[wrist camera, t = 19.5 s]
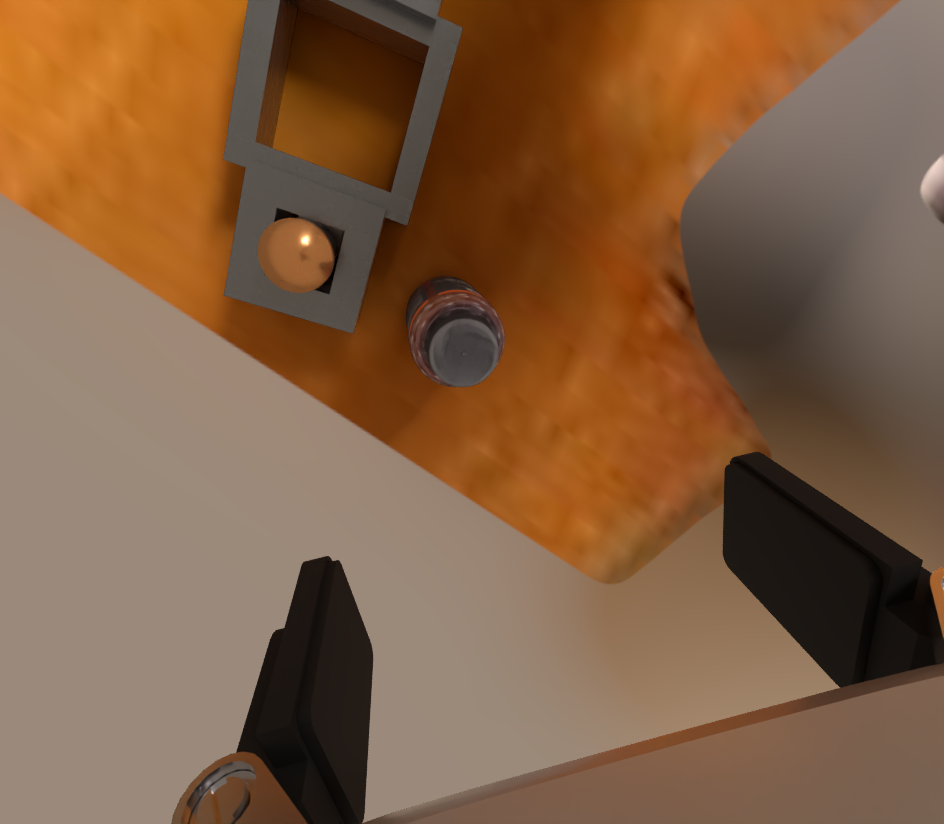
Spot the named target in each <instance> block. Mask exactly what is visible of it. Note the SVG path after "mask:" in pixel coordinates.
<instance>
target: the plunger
mask: <svg viewBox="0 0 944 824" xmlns="http://www.w3.org/2000/svg"><path fill="white" fill-rule="evenodd" d="M336 253H337V248H336V243H335V241H334V239H333V237H332V235H331V234H330V233H329V232H328V231H327V230H325V229H324V228H322V227H320V226H317V225H316V224H314V223H312V222H310V221H308V220H305V219H301V218H285V219H281V220H278V221H275V222H274V223H272V224H270V225H269V226H268V227H267V228H266V229H265V230H264V232H263V233H262V235H261V237H260V239H259V243H258V259H259V263H260V265H261V268H262V270H263V272H264V273H265V275H266V276H267V277H268V278H269V279H270V281H272V282H273V283H274V284H275V285H277V286H278V287H280V288H282V289H284V290H286V291H290V292H295V293H304V292H309V291H312V290H314V289H316V288H318V287H319V286H321V285H322V284H323V283H324V282H325V281H326V280H327V279H328V278H329V276H330V274H331V272H332V270H333V267H334V260H335V258H336Z"/></svg>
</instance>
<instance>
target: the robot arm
mask: <svg viewBox="0 0 944 824" xmlns="http://www.w3.org/2000/svg"><path fill="white" fill-rule="evenodd" d="M723 557H724V560H725V562H726V564H727V566H728V567H729V569H730V570H731V571H732V572H733V573H734V574H735V575H736V576H737V577H738V578H739V580H740V581H741V582H742V583H743V584H744V585H745V586H746V587H747V588H748V589H749V590H750V591H751V592H752V594H753V595H754V596H755V597H756V598H757V599H758V600H759V601H760V602H761V603H762V604H763V605H764V607H765V608H766V609H767V610H768V611H769V612H770V613H771V614H772V615H773V616H774V617H775V618H776V619H777V621H778V622H780V624H781V625H782V626H783V627H784V628H785V629H786V630H787V631H788V632H789V633H790V634H791V636H792V637H793V638H794V639H795V640H796V641H797V642H798V643H799V644H800V645H801V646H802V647H803V649H804V650H805V651H807V653H808V654H809V655H810V656H811V657H812V658H813V659H814V660H815V661H816V662H817V664H818V665H819V666H820V667H821V668H822V669H823V670H824V671H825V672H826V673H827V674H828V676H829V677H830V678H831V679H832V680H833V681H834V682H835V683H836V684H837V685H838V686H839V687H841V688H838V689H834V690H831V691H827V692H823V693H819V694H816V695H812V696H808V697H805V698H801V699H797V700H793V701H789V702H786V703H782V704H779V705H774V706H771V707H767V708H763V709H759V710H756V711H752V712H748V713H745V714H741V715H737V716H734V717H730V718H726V719H723V720H719V721H715V722H712V723H708V724H704V725H701V726H697V727H693V728H689V729H686V730H682V731H678V732H675V733H671V734H667V735H664V736H660V737H657V738H653V739H649V740H646V741H642V742H638V743H635V744H631V745H627V746H624V747H620V748H616V749H613V750H609V751H605V752H602V753H598V754H595V755H591V756H587V757H584V758H580V759H577V760H573V761H569V762H566V763H563V764H559V765H556V766H552V767H548V768H545V769H541V770H538V771H534V772H530V773H527V774H523V775H520V776H516V777H512V778H509V779H505V780H502V781H498V782H495V783H491V784H488V785H484V786H480V787H477V788H473V789H470V790H467V791H463V792H460V793H456V794H453V795H450V796H446V797H443V798H440V799H437V800H433V801H430V802H426V803H423V804H420V805H417V806H413V807H410V808H406V809H403V810H400V811H396V812H393V813H390V814H387V815H384V816H382V817H379V818H376V819H373V820H370V821H368V822H365V823H362V822H363V819H364V812H365V795H366V794H365V793H366V777H367V759H368V741H369V723H370V706H371V688H372V670H373V651H372V645H371V642H370V639H369V636H368V634H367V631H366V628H365V626H364V623H363V621H362V618H361V615H360V613H359V610H358V607H357V605H356V602H355V599H354V597H353V594H352V591H351V589H350V586H349V583H348V581H347V578H346V575H345V573H344V570H343V568H342V565H341V563H340V561H339V560H336V561H332V560H331V558H330V557H329V556H326V557H322V558H318V559H313V560H310V561H305V562H303V564H302V566H301V569H300V573H299V577H298V580H297V584H296V588H295V591H294V595H293V599H292V602H291V606H290V610H289V614H288V617H287V621H286V624H285V628H283V629H279V630H276V631H275V632H274V633H273V634H272V637H271V639H270V642H269V645H268V648H267V652H266V655H265V658H264V662H263V665H262V669H261V672H260V675H259V679H258V682H257V685H256V688H255V692H254V695H253V699H252V702H251V705H250V708H249V712H248V715H247V718H246V722H245V725H244V728H243V732H242V735H241V738H240V742H239V745H238V748H237V752H236V753H233V754H229V755H227V756H225V757H223V758H221V759H219V760H217V761H215V762H214V763H213V764H211V765H210V766H209V767H207V768H206V769H205V770H203V771H202V772H201V773H200V774H199V775H198V776H197V777H196V778H195V779H194V780H193V781H192V783H191V784H190V785H189V786H188V788H187V789H186V791H185V792H184V794H183V795H182V797H181V798H180V800H179V802H178V804H177V807H176V809H175V811H174V814H173V818H172V823H171V824H944V567H942V568H939V569H937V570H935V571H934V573H930V572H929V571H927V570H926V569H924V568H923V567H921V566H922V561H923V560H922V559H920V558H918V557H917V556H915V555H914V554H912V553H911V552H909V551H908V550H906V549H905V548H903V547H902V546H900V545H899V544H897V543H896V542H894V541H893V540H891V539H890V538H888V537H887V536H885V535H884V534H882V533H881V532H879V531H878V530H876V529H875V528H873V527H872V526H870V525H869V524H867V523H866V522H864V521H863V520H861V519H860V518H858V517H857V516H855V515H854V514H852V513H851V512H849V511H848V510H846V509H845V508H843V507H842V506H840V505H839V504H837V503H836V502H834V501H833V500H831V499H830V498H828V497H827V496H825V495H824V494H822V493H821V492H819V491H818V490H816V489H815V488H813V487H812V486H810V485H809V484H807V483H806V482H804V481H802V480H801V479H800V478H798V477H797V476H795V475H794V474H792V473H791V472H789V471H788V470H786V469H785V468H783V467H782V466H780V465H779V464H777V463H776V462H774V461H773V460H771V459H770V458H768V457H767V456H765V455H764V454H762V453H760V452H753V453H749V454H745V455H741V456H737V457H734V458H732V459H731V461H730V465H727V466H726V468H725V479H724V521H723Z"/></svg>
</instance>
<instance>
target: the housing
mask: <svg viewBox="0 0 944 824" xmlns="http://www.w3.org/2000/svg"><path fill="white" fill-rule="evenodd" d="M442 3H443V0H248V5H247V11H246V18H245V24H244V31H243V37H242V43H241V50H240V56H239V63H238V69H237V75H236V82H235V88H234V95H233V101H232V108H231V114H230V120H229V127H228V133H227V140H226V146H225V152H224V160H226V161H229V162H232V163H235V164H237V165H240V166H243V167H246V169H245V174H244V180H243V186H242V192H241V198H240V204H239V210H238V215H237V221H236V227H235V233H234V239H233V245H232V251H231V257H230V262H229V268H228V274H227V280H226V286H225V292H224V296H227V297H231V298H234V299H237V300H241V301H244V302H247V303H251V304H254V305H258V306H261V307H264V308H268V309H271V310H274V311H278V312H281V313H285V314H288V315H291V316H295V317H298V318H302V319H305V320H308V321H312V322H315V323H318V324H322V325H325V326H329V327H332V328H335V329H339V330H342V331H345V332H349V333H352V334H353V333H354V330H355V327H356V325H357V322H358V319H359V316H360V312H361V308H362V304H363V301H364V297H365V293H366V289H367V286H368V282H369V278H370V274H371V270H372V267H373V263H374V259H375V255H376V252H377V248H378V244H379V240H380V237H381V233H382V229H383V225H384V221H385V218H387V219H390V220H393V221H396V222H398V223H401V224H404V225H408V222H409V218H410V215H411V211H412V207H413V204H414V200H415V197H416V193H417V190H418V186H419V182H420V179H421V175H422V172H423V168H424V165H425V161H426V158H427V154H428V150H429V147H430V143H431V140H432V136H433V133H434V129H435V125H436V122H437V118H438V115H439V111H440V108H441V104H442V101H443V97H444V93H445V90H446V86H447V83H448V79H449V76H450V72H451V68H452V65H453V61H454V58H455V54H456V51H457V47H458V44H459V40H460V36H461V33H462V29H463V28H462V27H460V26H458V25H456V24H454V23H451V22H449V21H447V20H445V19H443V18H441V17H439V14H440V10H441V7H442ZM298 9H300V10H302V11H305V12H307V13H309V14H311V15H314V16H316V17H318V18H320V19H323V20H325V21H327V22H329V23H332V24H334V25H336V26H338V27H340V28H343V29H345V30H347V31H349V32H352V33H354V34H356V35H358V36H361V37H363V38H365V39H367V40H369V41H372V42H374V43H376V44H378V45H381V46H383V47H385V48H387V49H390V50H392V51H394V52H396V53H398V54H401V55H403V56H405V57H407V58H410V59H412V60H414V61H416V62H419V63H421V64H423V65H424V69H423V72H422V76H421V80H420V84H419V88H418V91H417V95H416V99H415V103H414V107H413V110H412V114H411V118H410V122H409V125H408V129H407V133H406V137H405V141H404V144H403V148H402V152H401V156H400V159H399V163H398V167H397V171H396V175H395V178H394V182H393V186H392V190H391V193H390V192H388V191H385V190H382V189H380V188H377V187H374V186H372V185H369V184H366V183H364V182H361V181H358V180H356V179H353V178H350V177H348V176H345V175H342V174H340V173H337V172H334V171H332V170H329V169H326V168H324V167H321V166H318V165H316V164H313V163H310V162H308V161H305V160H302V159H300V158H297V157H294V156H292V155H289V154H286V153H283V152H281V151H278V150H275V149H273V148H272V146H273V141H274V135H275V130H276V125H277V119H278V114H279V108H280V103H281V97H282V92H283V87H284V81H285V76H286V70H287V65H288V60H289V54H290V49H291V43H292V38H293V32H294V27H295V22H296V16H297V11H298ZM292 213H294V214H297V215H299V217H298V218H301V219H305V220H308V221H310V222H312V223H314V224H316V225H317V226H320V227H322V228H324V229H325V230H327V231H328V232H329V233H330V234H331V235H332V237H333V239H334V241H335V243H336V248H337V253H336V255H338V253H339V249H340V244H341V240H342V236H343V232H344V231H345V233H344V237H343V241H342V245H341V249H340V253H339V257H338V262H337V266H336V270H335V274H334V278H333V282H331V281H327V280H326V281H325V282H324V283H323V284H322V285H321V286H319V287H318V288H316V289H314V290H312V291H309V292H304V293H295V292H290V291H286V290H284V289H282V288H280V287H278V286H277V285H275V284H274V283H273V282H272V281H270V279H269V278H268V277H267V276H266V275H265V273H264V272H263V270H262V268H261V265H260V263H259V259H258V243H259V239H260V237H261V235H262V233H263V232H264V230H265V229H266V228H267V227H268V226H269V225H270V224H272V223H274V222H275V221H278V220H281V219H285V218H292Z"/></svg>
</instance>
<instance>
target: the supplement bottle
mask: <svg viewBox="0 0 944 824" xmlns="http://www.w3.org/2000/svg"><path fill="white" fill-rule="evenodd" d="M406 323H407V330H408V338H409V346H410V350H411V354H412V356H413V359H414V361H415V363H416V364H417V366H418V368H419V369H420V370H421V372H422V373H423V374H424V375H426V376H427V377H428V378H430V379H431V380H433V381H434V382H436V383H438V384H441V385H444V386H448V387H468V386H473V385H476V384H478V383H480V382H482V381H483V380H484V379H486V378H487V377H488V376H489V375H490V374H491V373H492V371H493V370H494V368H495V367H496V365H497V364H498V362H499V360H500V358H501V356H502V353H503V349H504V343H505V336H504V329H503V325H502V322H501V320H500V317H499V315H498V314H497V312H496V311H495V309H494V308H493V307H492V306H491V305H490V303H489V302H488V301H487V300H485V298H483V297H482V296H481V295H480V294H479V293H478V292H477V291H476V290H475V289H474V288H473V287H472V286H471V285H469V284H468V283H467V282H465V281H463V280H461V279H458V278H455V277H450V276H440V277H435V278H432V279H430V280H427V281H426V282H424V283H423V284H421V285H420V286H419V287H418V288H417V289H416V290H415V291H414V293H413V294H412V296H411V298H410V300H409V302H408V306H407V310H406Z"/></svg>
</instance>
